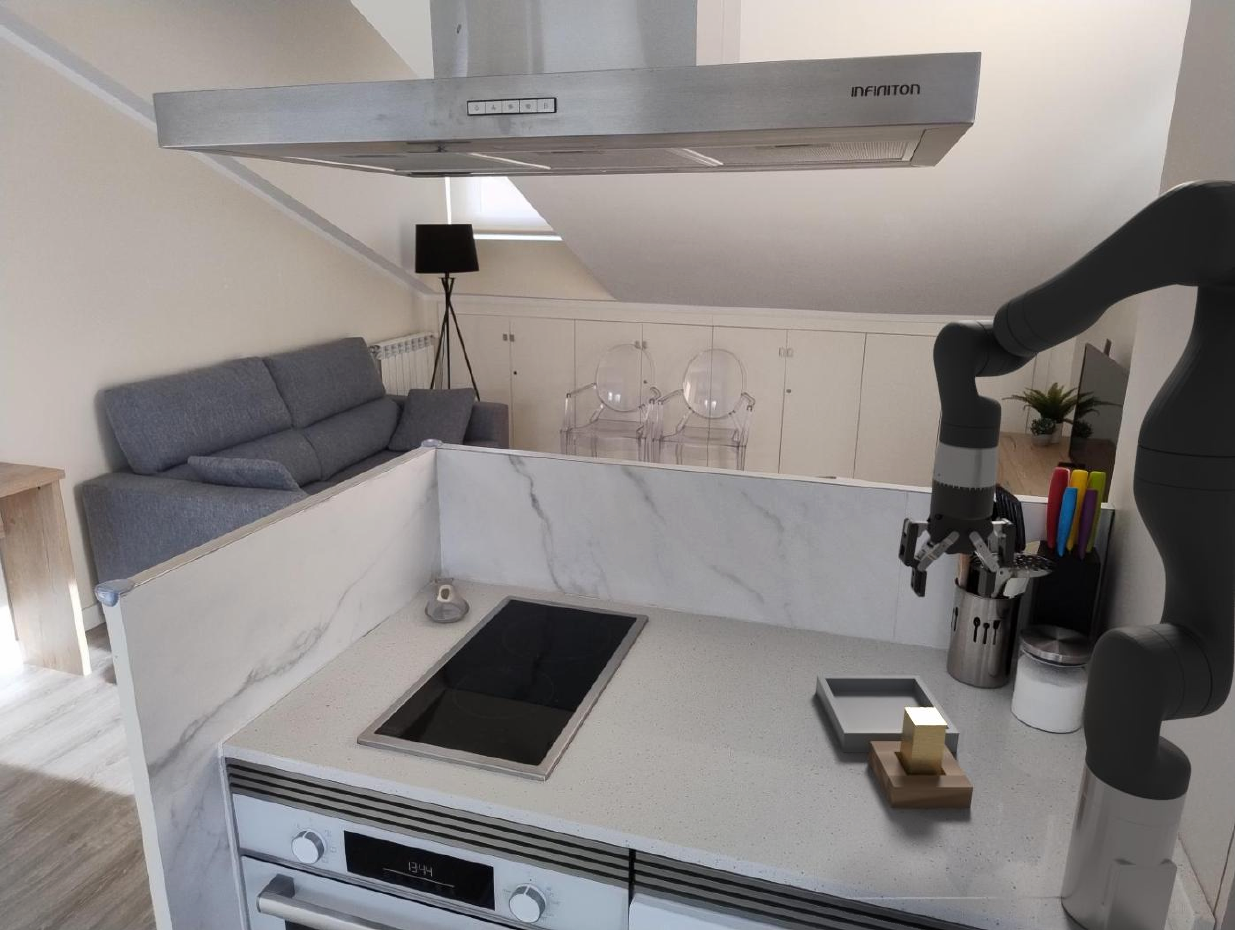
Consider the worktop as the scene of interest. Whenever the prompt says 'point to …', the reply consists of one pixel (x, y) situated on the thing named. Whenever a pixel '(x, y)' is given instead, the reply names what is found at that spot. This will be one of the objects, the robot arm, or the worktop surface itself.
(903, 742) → the pin
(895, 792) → the socket block
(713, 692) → the worktop surface
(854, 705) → the parts tray
